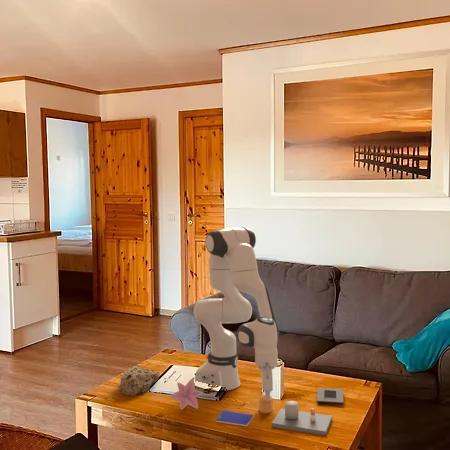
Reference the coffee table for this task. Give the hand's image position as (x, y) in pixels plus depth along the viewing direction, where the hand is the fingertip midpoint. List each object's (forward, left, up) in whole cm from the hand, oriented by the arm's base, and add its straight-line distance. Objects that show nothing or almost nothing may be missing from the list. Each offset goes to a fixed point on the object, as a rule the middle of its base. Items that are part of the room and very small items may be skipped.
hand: (266, 394), depth 206 cm
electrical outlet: (+21, +20, -8) cm, 30 cm away
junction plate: (+15, -5, -7) cm, 18 cm away
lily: (-32, -5, -7) cm, 34 cm away
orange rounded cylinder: (-1, +1, -7) cm, 7 cm away
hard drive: (-10, -10, -8) cm, 16 cm away
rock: (-61, +5, -7) cm, 61 cm away
